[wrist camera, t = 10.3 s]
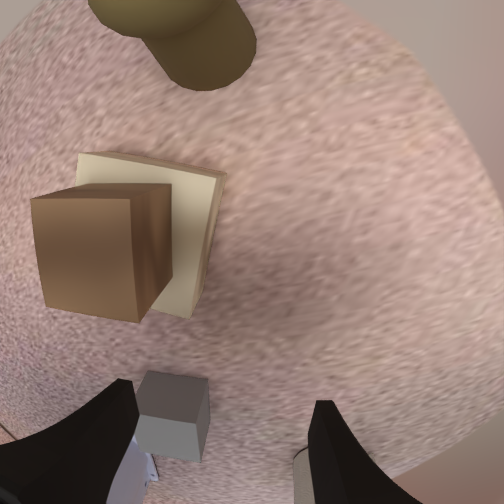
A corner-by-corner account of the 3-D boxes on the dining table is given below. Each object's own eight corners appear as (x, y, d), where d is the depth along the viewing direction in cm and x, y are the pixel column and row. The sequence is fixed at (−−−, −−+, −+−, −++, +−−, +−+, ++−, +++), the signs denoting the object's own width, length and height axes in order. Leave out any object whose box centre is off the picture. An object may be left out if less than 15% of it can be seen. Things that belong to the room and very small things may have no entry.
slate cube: (210, 419, 25) (200, 462, 20) (156, 411, 25) (139, 451, 21) (208, 378, 24) (195, 423, 19) (148, 370, 24) (127, 411, 19)
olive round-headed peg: (143, 70, 17) (32, 16, 6) (191, -5, 15) (127, -105, 5) (225, 107, 17) (166, 55, 7) (274, 28, 16) (275, -84, 5)
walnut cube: (172, 277, 17) (139, 323, 12) (94, 269, 17) (46, 306, 12) (171, 183, 15) (129, 198, 11) (88, 183, 16) (30, 198, 11)
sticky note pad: (203, 290, 21) (189, 319, 18) (99, 261, 21) (70, 283, 18) (227, 172, 19) (216, 178, 15) (111, 150, 19) (79, 153, 15)
